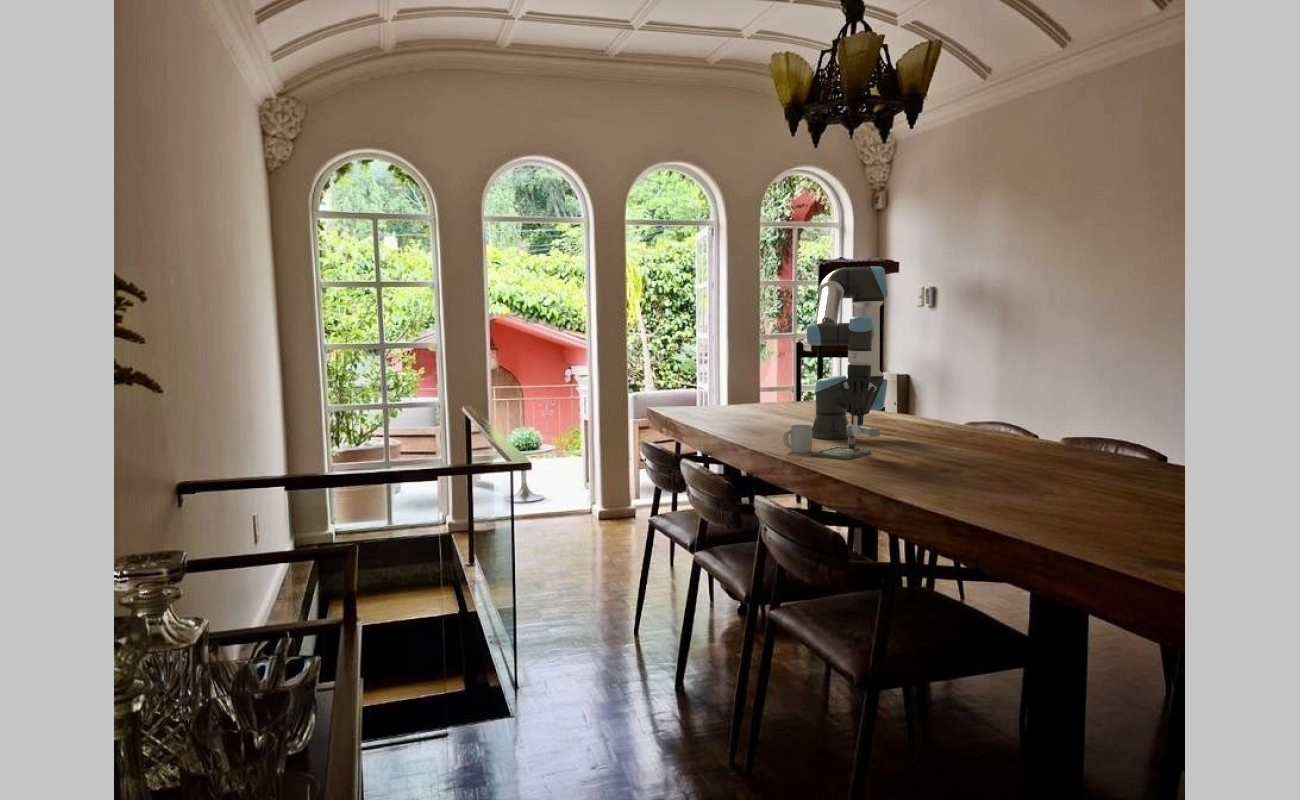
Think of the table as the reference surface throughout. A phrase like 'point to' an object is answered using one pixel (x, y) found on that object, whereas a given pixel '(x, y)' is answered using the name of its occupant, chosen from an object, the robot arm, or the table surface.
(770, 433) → the table surface
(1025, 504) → the table surface
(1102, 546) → the table surface
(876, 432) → the cable arm
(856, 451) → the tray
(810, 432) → the cup
